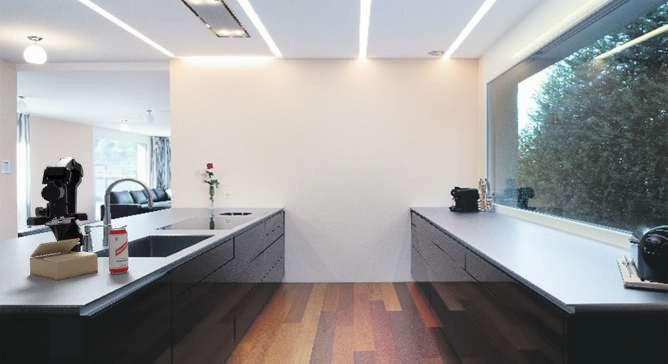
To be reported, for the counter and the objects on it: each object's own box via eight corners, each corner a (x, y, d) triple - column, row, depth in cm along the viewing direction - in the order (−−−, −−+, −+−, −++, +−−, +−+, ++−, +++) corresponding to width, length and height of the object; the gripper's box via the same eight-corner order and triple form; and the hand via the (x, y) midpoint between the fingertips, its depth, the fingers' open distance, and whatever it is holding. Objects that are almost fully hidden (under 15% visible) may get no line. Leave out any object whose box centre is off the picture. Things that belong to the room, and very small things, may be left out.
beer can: (132, 271, 159) (131, 228, 159) (117, 275, 153) (116, 230, 153) (120, 269, 162) (119, 227, 161) (105, 273, 156) (104, 229, 156)
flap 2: (82, 253, 163) (82, 251, 163) (96, 255, 159) (96, 253, 159) (43, 259, 151) (43, 258, 151) (57, 262, 147) (57, 260, 147)
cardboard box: (70, 266, 168) (69, 251, 168) (97, 271, 159) (97, 255, 159) (30, 274, 156) (29, 257, 156) (57, 280, 147) (57, 262, 147)
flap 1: (69, 251, 168) (68, 249, 168) (79, 239, 164) (79, 238, 164) (30, 257, 156) (30, 256, 156) (40, 245, 152) (40, 243, 152)
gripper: (71, 197, 170) (72, 237, 171) (17, 201, 154) (19, 244, 154) (88, 198, 165) (89, 239, 165) (34, 201, 148) (35, 247, 149)
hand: (59, 242), depth 159 cm, fingers closed, pressing on flap 1
